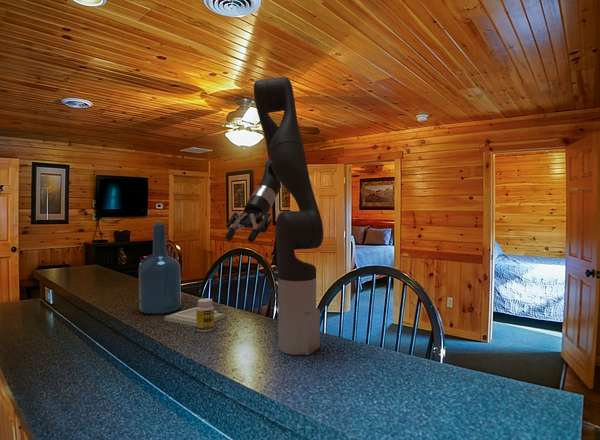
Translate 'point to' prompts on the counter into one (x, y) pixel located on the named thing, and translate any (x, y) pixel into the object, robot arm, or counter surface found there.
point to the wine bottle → (159, 277)
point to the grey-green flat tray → (189, 317)
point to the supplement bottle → (205, 315)
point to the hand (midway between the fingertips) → (238, 240)
